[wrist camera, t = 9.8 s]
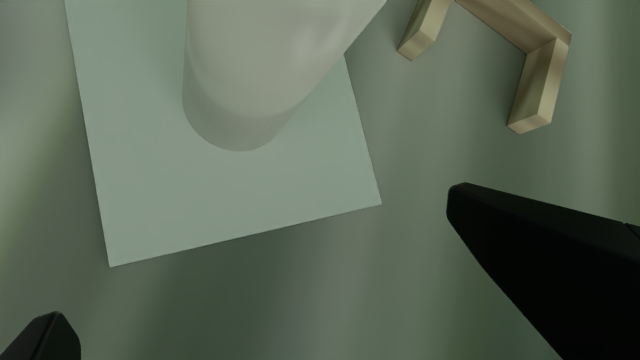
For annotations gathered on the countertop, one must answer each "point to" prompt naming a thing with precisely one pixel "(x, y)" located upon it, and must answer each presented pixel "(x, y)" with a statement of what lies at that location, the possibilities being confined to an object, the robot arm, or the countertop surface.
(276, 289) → the countertop surface
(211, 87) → the pale grey rounded piece
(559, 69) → the holder
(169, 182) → the mat
